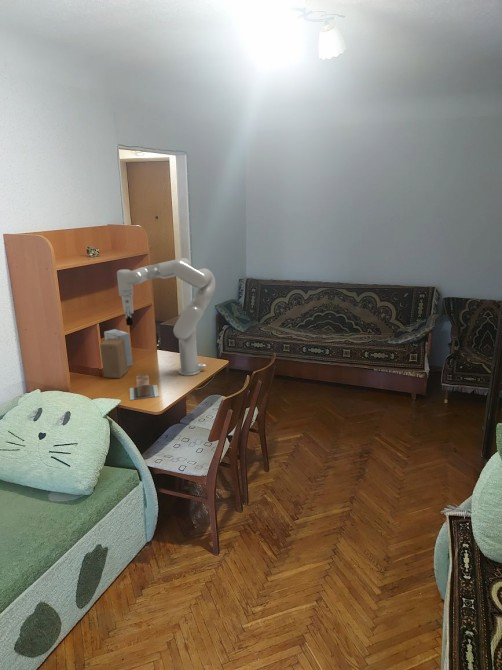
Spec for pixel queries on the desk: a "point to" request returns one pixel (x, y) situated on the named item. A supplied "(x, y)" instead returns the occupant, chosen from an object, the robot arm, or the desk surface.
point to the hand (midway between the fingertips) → (129, 324)
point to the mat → (135, 396)
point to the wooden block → (114, 358)
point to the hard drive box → (123, 335)
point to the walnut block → (143, 386)
